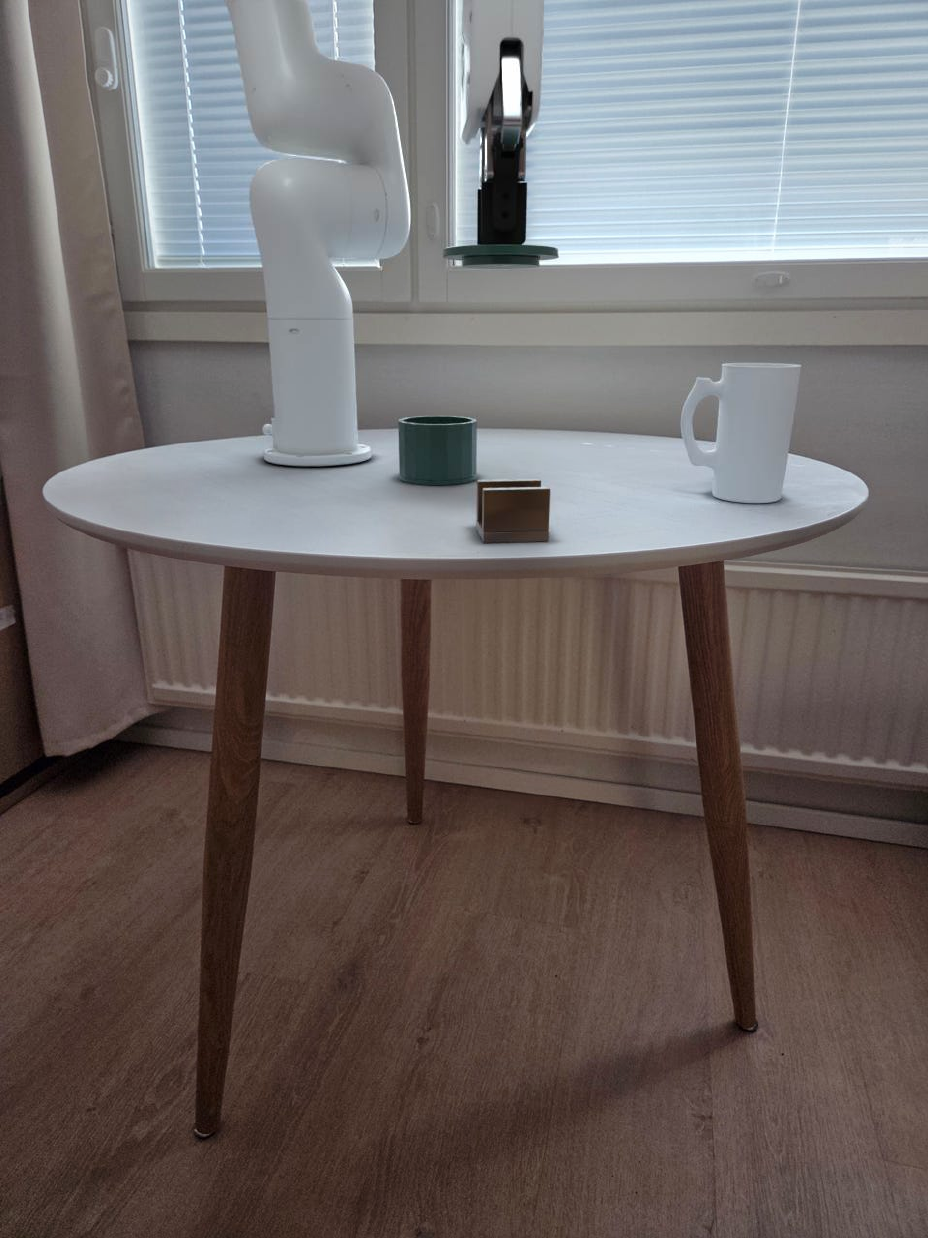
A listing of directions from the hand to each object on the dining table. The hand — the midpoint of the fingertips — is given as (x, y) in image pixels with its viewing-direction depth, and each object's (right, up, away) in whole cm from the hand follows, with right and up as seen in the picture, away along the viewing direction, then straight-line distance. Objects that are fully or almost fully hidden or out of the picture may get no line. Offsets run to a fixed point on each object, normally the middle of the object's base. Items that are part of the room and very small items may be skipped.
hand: (500, 243), depth 62 cm
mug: (+22, -16, +18) cm, 33 cm away
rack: (+1, -21, +3) cm, 21 cm away
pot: (-5, -13, +26) cm, 30 cm away
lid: (0, -1, 0) cm, 1 cm away
